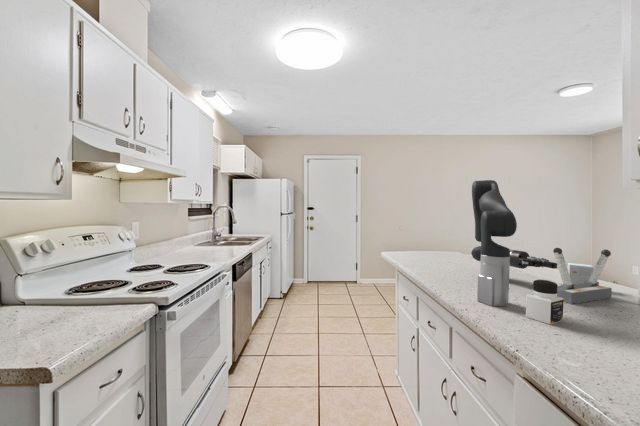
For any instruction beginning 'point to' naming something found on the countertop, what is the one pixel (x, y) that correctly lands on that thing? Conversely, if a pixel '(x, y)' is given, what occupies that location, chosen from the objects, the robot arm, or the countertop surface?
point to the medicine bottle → (544, 303)
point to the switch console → (583, 292)
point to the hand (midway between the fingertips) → (555, 265)
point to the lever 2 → (599, 266)
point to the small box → (579, 272)
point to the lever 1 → (562, 267)
